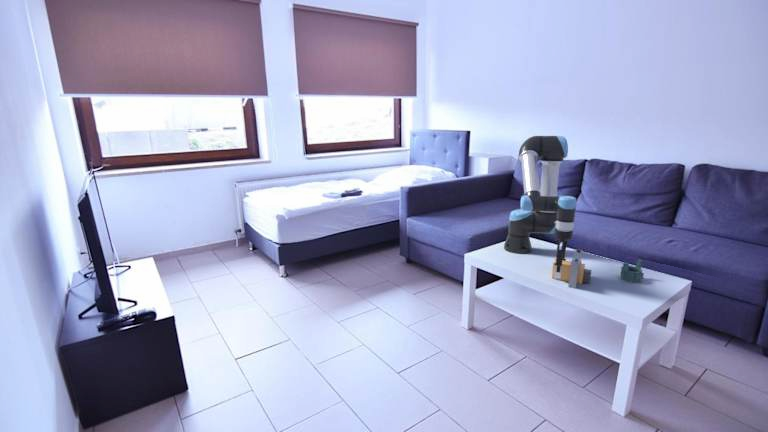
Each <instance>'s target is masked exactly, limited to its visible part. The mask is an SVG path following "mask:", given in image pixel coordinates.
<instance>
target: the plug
mask: <svg viewBox="0 0 768 432" xmlns="http://www.w3.org/2000/svg"><path fill="white" fill-rule="evenodd" d="M555 263H556V258H555V259H554V261H553V263H552V264H553V266H552V272H551V279H554V280H560V281H563V282H567V283H569V278H570V270H571V263H572V261H568V260H566V261H564V260H562V272H561V279H559V278H554V276H555V268H556V265H554V264H555ZM592 272H593V271H592V269H588V268H586V263H582V262H581V263H580V265H579V272H578V279H577V284H581V285H583V282H585V283H591V277H592Z"/></svg>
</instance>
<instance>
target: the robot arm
mask: <svg viewBox="0 0 768 432" xmlns="http://www.w3.org/2000/svg"><path fill="white" fill-rule="evenodd" d="M568 154H569V145H568V140H567V139H566V137H565V136H562V135H534V136H530V137H529V138H527V139H526V140H525V141H523V142H522V144H521V146H520V148H519V151H518V159H519V161H520V162H521V173H522V183H523V195H521V198H520V204H519V205H520V208H519V209H515V210H512V211H511V212H510V213H509V214H510V215H509V219H508V220H509V223H508V234H507V237H506V239H505V242H504V244H503V250H505V251H507V252H509V253H512V254H513V253H514V254H529V253H531V252H532V248H533V247H532V243H531V239H530V235H531V234H546V235H550V234H551V235H552V234H554V237H555V238H556V239H558V240H557V244H556V245H557V247H556V257H555V259H556V263H555V264H554V265H556V268H555V276H554V278H559V279H561V272H562V260H564V261H567V259H566V249H567V245H568V240H571V239H573V233H574V232H573V230H574V224H575V215H576V208H577V198H576V197H575V196H572V195H560V194H557V192H558V184H559V175H560V166H561V164H562V163H563V162H564V159H566V158H567V157H568ZM538 158H539V162H541V164H542V168H541V177H540V179H539V170H538V169H539V168H538V161H537V160H538Z"/></svg>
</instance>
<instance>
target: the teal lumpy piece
mask: <svg viewBox="0 0 768 432" xmlns="http://www.w3.org/2000/svg"><path fill="white" fill-rule="evenodd" d="M642 264H643V260H642V259H637V260H636V265H635V266H632V265H630V263H629V262H624V263H623V265H622V266H621V268H620V274H619V278H620V279H621V280H622V281H625V282H628V283H634V284H636V283H640V282H641V281H642V280H643V279H644V273H643V270H642Z"/></svg>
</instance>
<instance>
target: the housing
mask: <svg viewBox="0 0 768 432" xmlns="http://www.w3.org/2000/svg"><path fill="white" fill-rule="evenodd" d="M583 252H584V249H580V248H579V249H577V248H575V251H574V254H573V255H572V256H573V257H572V260H571V262H572V263H571V270H570V278H569V282H568V288H572V289H577V285H578V283H577V279H578V272H579V265H580V263H582V259H583V254H584V253H583Z"/></svg>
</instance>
